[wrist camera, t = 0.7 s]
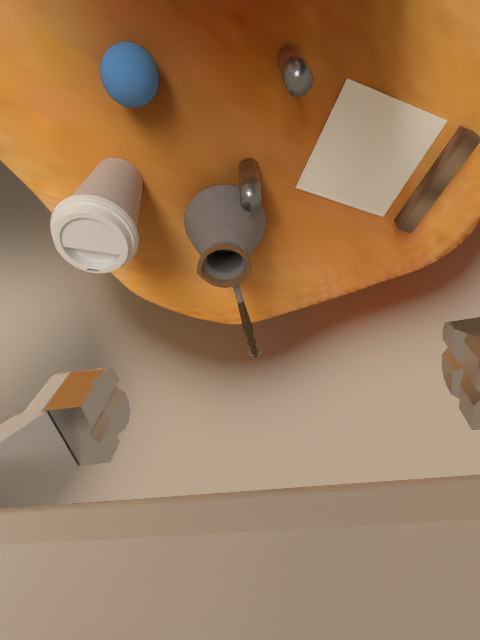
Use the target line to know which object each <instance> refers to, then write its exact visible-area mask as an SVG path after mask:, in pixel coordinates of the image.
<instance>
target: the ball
mask: <svg viewBox="0 0 480 640" xmlns="http://www.w3.org/2000/svg"><path fill="white" fill-rule="evenodd" d="M100 73H101V80H102V83H103V85H104V88H105V89H106V91H107V93H108V94H109V95H110V97H111V98H112V99H113V100H115V101H116V102H117V103H119V104H121V105H123V106H126V107H131V108H137V107H141V106H144V105H146V104H147V103H149V102H150V101H151V100H152V98H153V97H154V96H155V94H156V91H157V88H158V83H159V76H158V70H157V67H156V64H155V62H154V60H153V58H152V57H151V55H150V54H149V53H148V52H147V51H146V50H145V49H144V48H143V47H141V46H139V45H137V44H135V43H132V42H119V43H116V44H114V45H113V46H111V47H110V48H109V49H108V50H107V51H106V53H105V54H104V56H103V58H102V61H101V67H100Z"/></svg>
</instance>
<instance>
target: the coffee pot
mask: <svg viewBox="0 0 480 640" xmlns="http://www.w3.org/2000/svg"><path fill="white" fill-rule="evenodd" d="M184 225H185V229H186V233H187V236H188V237H189V239H190V241H191V242H192V244H193V245H194V247H195V248H196V249H197V251H198V252H199V254H200V255H201V257H200V259H199V262H198V267H197V274H198V275H199V276H200V277H201V278H202V279H204V280H205V281H206V282H208V283H210V284H211V285H214V286H217V287H223V288H227V287H233V288H234V291H235V294H236V298H237V301H238V307H239V311H240V316H241V320H242V325H243V329H244V331H245V333H246V335H247V338H248V344H249V345H250V346H251V351H249V352H248V355H249V353H250V352H252V354H253V355H249V356H254V357H257V356H258V355H259V354H261V353H262V352H263V351H262V349H257V348H256V347H255V343H256V340H255V339H253V330H252V325H251V322H250V319H249V316H248V313H247V310H246V307H245V304H244V301H243V298H242V294H241V290H240V286H239V284H240V283H242V282H243V281H244V280H245V279H246V278H247V277H248V275H249V273H250V270H251V263H250V259H249V256H250V255H251V254H252V252H253V251H254V250H255V248H256V247H257V246H258V244H259V243H260V242H261V240H262V238H263V236H264V234H265V230H266V225H267V221H266V213H265V211H264V209H263V206H262V205H261V207H260V208H259V209H258V210H256V211H252V212H249V211H246V210H244V209H243V208H242V207H241V205H240V187H238V186H236V185H228V184H221V185H214V186H211V187H209V188H207V189H204V190H202V191H201V192H200V193H198V194H197V195H196V196H195V197H194V198H193V199H192V201H191V202H190V203H189V205H188V207H187V210H186V212H185V219H184ZM257 350H261V351H262V352H260V353H258V354H257Z"/></svg>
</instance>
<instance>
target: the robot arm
mask: <svg viewBox="0 0 480 640" xmlns="http://www.w3.org/2000/svg"><path fill="white" fill-rule="evenodd" d="M443 340H444V342H445V343H446V345H447V346H448V348H447V349H446V350H445V352H444V353H443V354H442V370H443V376H444V380H445V382H446V385H447V387H448V389H449V391H450V393H451V394H452V395H454V396H455V397H457V398H459V399H460V403H459V409H460V410H461V412H462V414H463V415H464V417H465V419H466V420H467V422H468V424H469V426H470V427H471V429H472V430H478V429H480V317H478V318H471V319H465V320H459V321H453V322H446V323H445V324H444V327H443ZM118 382H119V378H118V376H117V374H116V373H115V371H114V369H112V368H110V367H105V368H97V369H87V370H78V371H69V372H62V373H58V374H55V375H53V376H52V377H51V378H50V380H49V381H48V382H47V383H46V384H45V386H44V387H43V388H42V390H41V391H40V392H39V393H38V394H37V396H36V397H35V398H34V400H33V401H32V402H31V403H30V405H29V406H28V407H27V408H26V409H25V411H24V412H23V413H22V414H19V415H15V416H14V417H12V418H11V419H9V420H7V421H6V422H4V423H3V424H1V425H0V640H480V475H468V476H454V477H439V478H426V479H412V480H411V479H410V480H397V481H382V482H368V483H355V484H354V483H353V484H341V485H340V484H339V485H326V486H311V487H297V488H283V489H269V490H255V491H242V492H228V493H214V494H200V495H188V496H174V497H160V498H145V499H131V500H117V501H103V502H89V503H76V504H60V505H46V506H41V505H42V504H43V503H44V502H45V501H46V500H47V499H48V498H49V497H50V496H51V495H52V494H53V493H54V492H55V491H56V490H57V489H58V488H59V487H60V486H61V485H62V484H63V483H64V482H65V481H66V480H67V479H68V478H69V477H70V476H71V475H72V474H73V473H74V472H75V471H76V470H77V469H78V468H79V466H83V465H91V464H99V463H108V462H111V459H112V457H113V455H114V453H115V451H116V448H117V446H118V444H119V439H118V437H117V435H118V434H119V433H121V432H122V431H123V430H124V429H125V428H126V426H127V424H128V421H129V415H130V406H129V402H128V399H127V396H126V394H125V393H124V392H123V391H121V390H120V389H119V388H117V385H118Z"/></svg>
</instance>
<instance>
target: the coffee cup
mask: <svg viewBox="0 0 480 640" xmlns="http://www.w3.org/2000/svg"><path fill="white" fill-rule="evenodd" d="M142 191H143V180H142V177H141V175H140V173H139V171H138V170H137V169H136V168H135V167H134V166H133V165H132V164H131V163H129V162H128V161H126V160H123V159H120V158H108V159H105V160H103V161H101V162H100V163H99V164H98V165H97V166H96V167H95V169H94V170H93V171H92V172H91V173H90V175H89V176H88V177H87V178H86V179H85V180H84V182H83V183H82V184H81V185H80V186H79V188H78V189H77V190H76V191H75V192H74V193H73V195H72V196H71V197H68V198H66V199H64V200H63V201H61V202H60V203H59V204H58V205H57V206H56V207H55V209H54V210H53V213H52V216H51V222H50V227H51V234H52V238H53V241H54V244H55V247H56V249H57V250H58V252H59V253H60V255H61V256H62V257H63V258H64V259H65V260H66V261H67V262H69V263H70V264H72V265H73V266H75V267H77V268H79V269H81V270H84V271H87V272H92V273H107V272H111V271H114V270H116V269H118V268H120V267H122V266H123V265H125V264H126V263H128V262H129V261H130V260H131V259H132V258H133V256H134V255H135V253H136V251H137V249H138V245H139V235H138V231H137V224H138V217H139V210H140V204H141V197H142Z"/></svg>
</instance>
